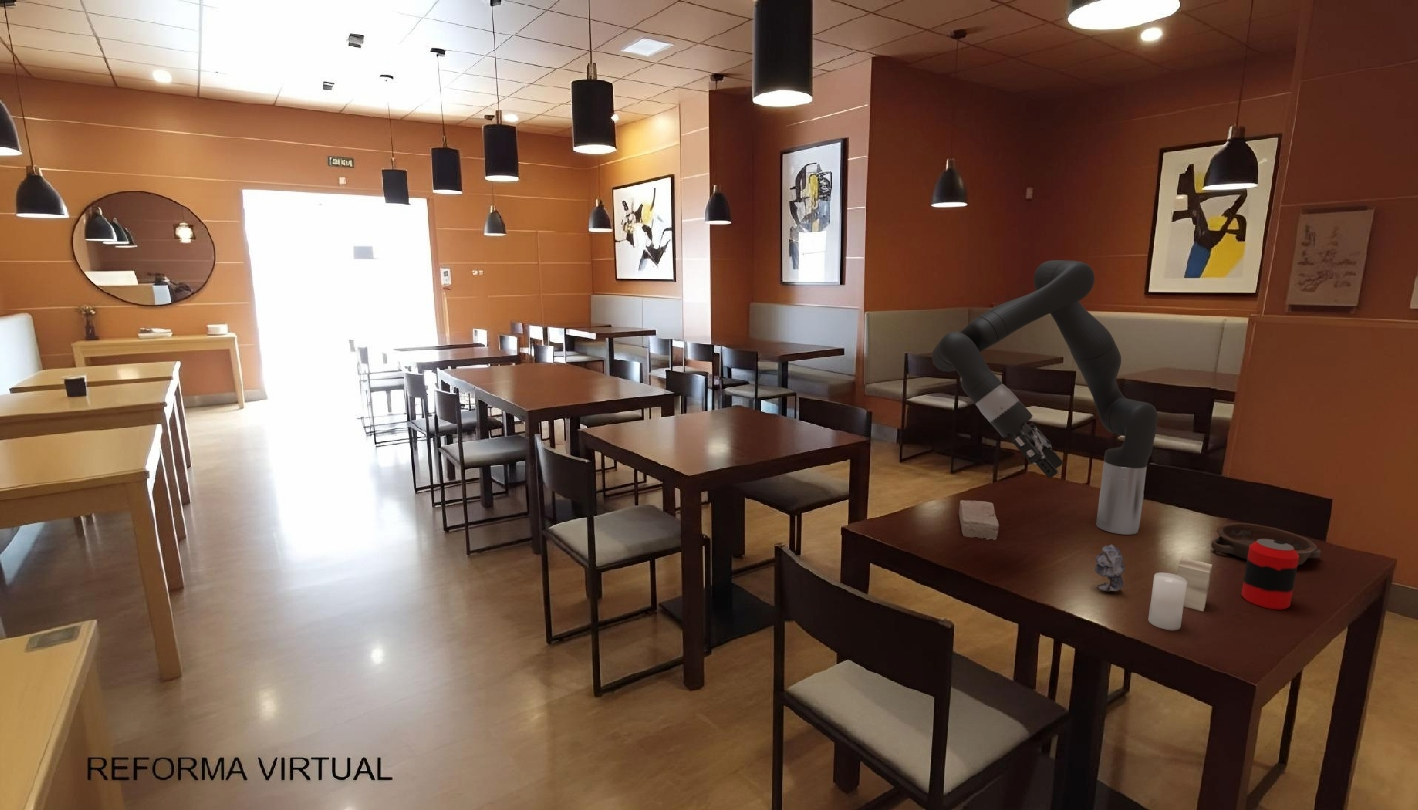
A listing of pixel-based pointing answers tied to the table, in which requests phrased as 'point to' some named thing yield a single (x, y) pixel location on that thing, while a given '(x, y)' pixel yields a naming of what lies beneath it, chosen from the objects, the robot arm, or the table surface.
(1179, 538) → the table surface
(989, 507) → the brick
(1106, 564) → the fossil stone
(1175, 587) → the ceramic cylinder
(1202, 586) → the birch block
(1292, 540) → the dish
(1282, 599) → the soda can
